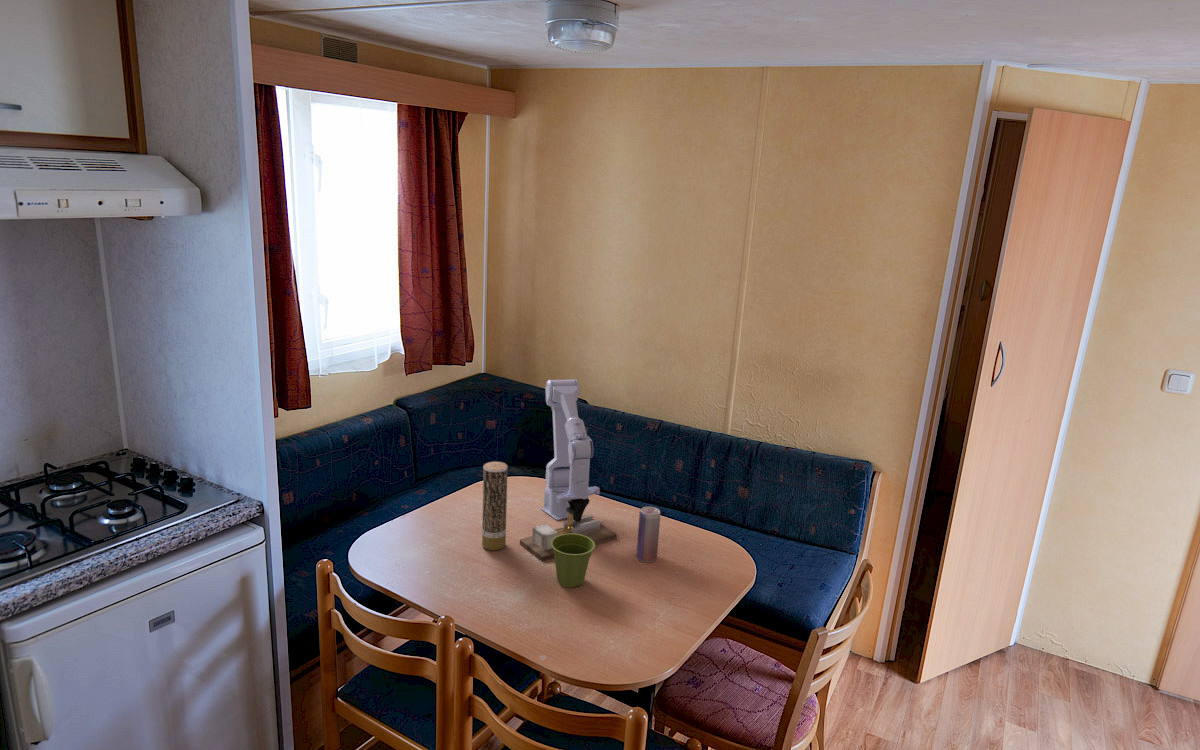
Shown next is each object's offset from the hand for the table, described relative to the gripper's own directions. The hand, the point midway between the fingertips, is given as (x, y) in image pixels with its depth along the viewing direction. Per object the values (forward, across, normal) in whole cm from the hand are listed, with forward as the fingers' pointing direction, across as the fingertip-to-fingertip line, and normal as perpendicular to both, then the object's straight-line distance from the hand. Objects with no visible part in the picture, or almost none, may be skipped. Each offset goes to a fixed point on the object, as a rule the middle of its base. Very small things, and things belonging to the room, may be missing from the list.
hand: (576, 520), depth 223 cm
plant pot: (+6, -15, -19) cm, 25 cm away
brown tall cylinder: (+6, -23, +9) cm, 26 cm away
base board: (+6, -3, 0) cm, 7 cm away
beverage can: (+6, +11, -20) cm, 24 cm away
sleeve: (+5, +2, 0) cm, 5 cm away
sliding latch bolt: (+4, -7, 0) cm, 8 cm away
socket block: (+5, -11, 0) cm, 12 cm away
